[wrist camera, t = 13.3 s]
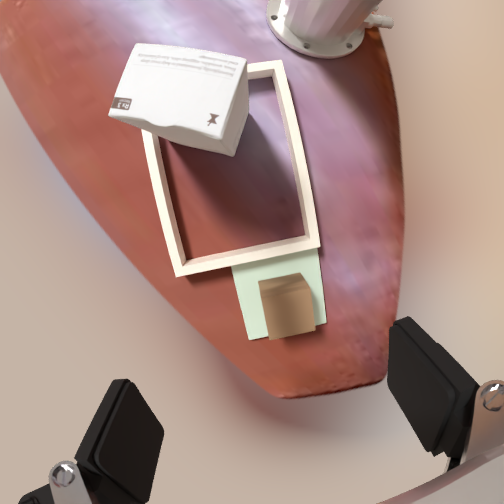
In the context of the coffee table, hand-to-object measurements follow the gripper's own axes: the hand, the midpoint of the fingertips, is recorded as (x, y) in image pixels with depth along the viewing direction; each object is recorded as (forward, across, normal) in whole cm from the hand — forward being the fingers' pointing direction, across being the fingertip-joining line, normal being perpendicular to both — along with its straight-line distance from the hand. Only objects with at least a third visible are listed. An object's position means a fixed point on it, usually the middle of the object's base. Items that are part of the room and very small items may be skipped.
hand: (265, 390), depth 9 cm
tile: (+24, -2, +8) cm, 25 cm away
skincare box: (+24, +2, -13) cm, 28 cm away
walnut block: (+23, -2, +8) cm, 24 cm away
